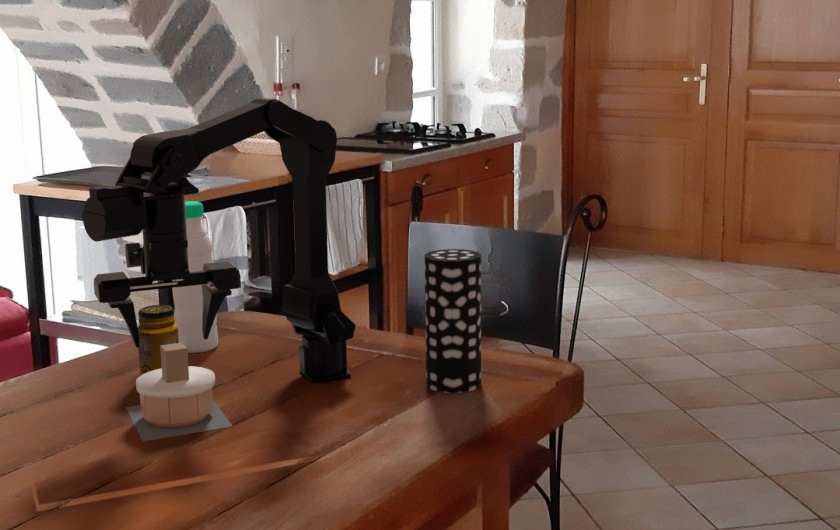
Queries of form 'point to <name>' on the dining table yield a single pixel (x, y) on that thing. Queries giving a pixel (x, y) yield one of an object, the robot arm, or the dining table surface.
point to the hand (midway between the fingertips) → (171, 342)
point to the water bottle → (194, 286)
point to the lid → (175, 376)
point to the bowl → (177, 409)
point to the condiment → (155, 335)
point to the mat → (153, 432)
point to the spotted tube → (453, 320)
